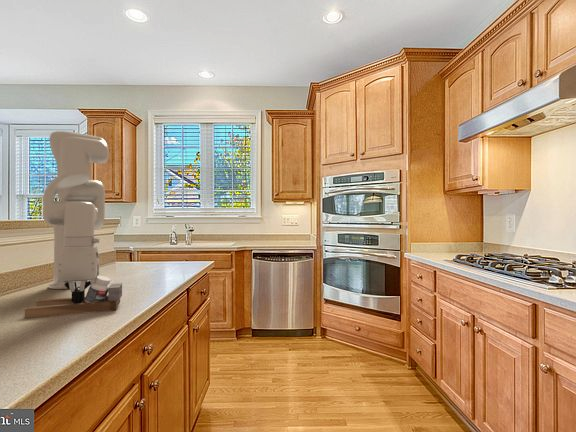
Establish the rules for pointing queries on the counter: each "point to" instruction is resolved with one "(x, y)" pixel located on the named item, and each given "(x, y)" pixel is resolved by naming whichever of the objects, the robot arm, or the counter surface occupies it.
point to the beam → (75, 305)
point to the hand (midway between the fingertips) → (78, 304)
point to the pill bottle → (98, 290)
